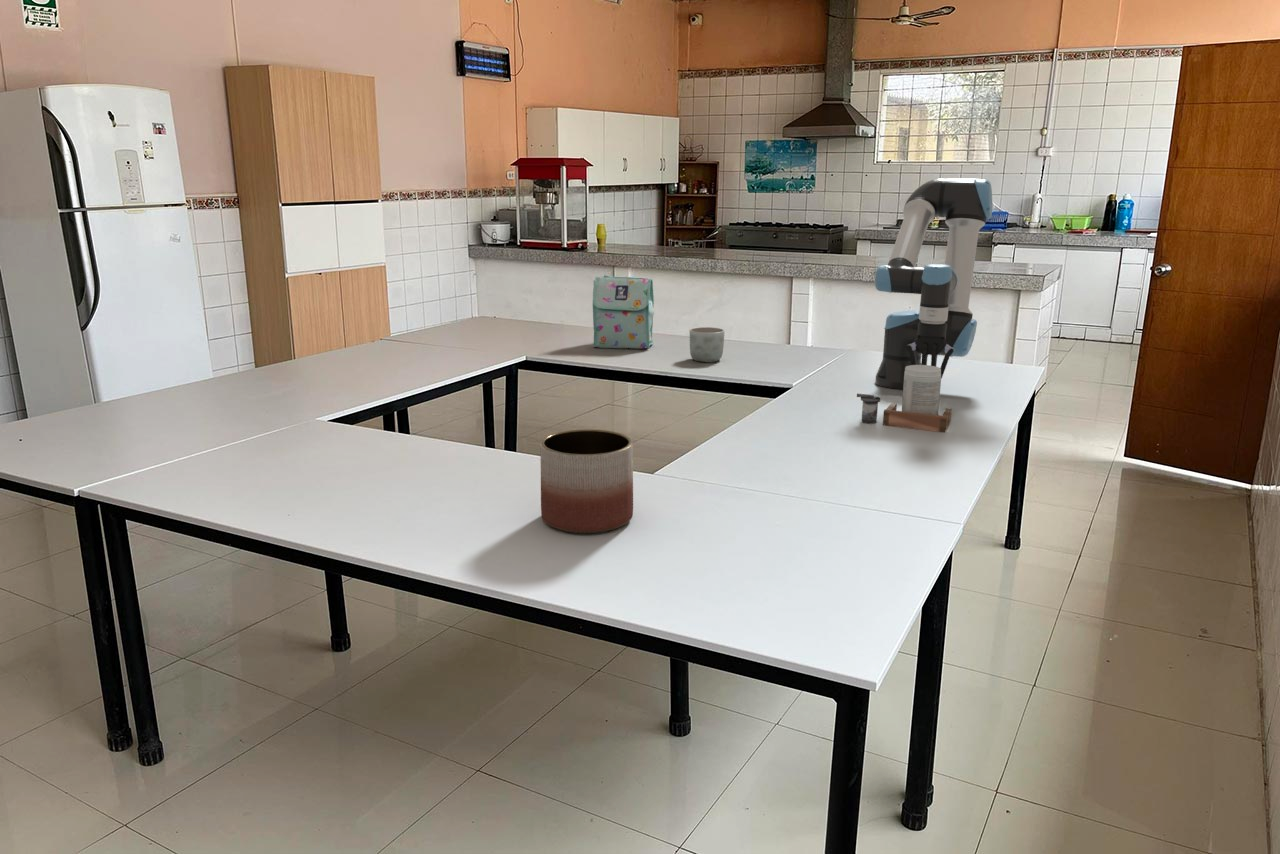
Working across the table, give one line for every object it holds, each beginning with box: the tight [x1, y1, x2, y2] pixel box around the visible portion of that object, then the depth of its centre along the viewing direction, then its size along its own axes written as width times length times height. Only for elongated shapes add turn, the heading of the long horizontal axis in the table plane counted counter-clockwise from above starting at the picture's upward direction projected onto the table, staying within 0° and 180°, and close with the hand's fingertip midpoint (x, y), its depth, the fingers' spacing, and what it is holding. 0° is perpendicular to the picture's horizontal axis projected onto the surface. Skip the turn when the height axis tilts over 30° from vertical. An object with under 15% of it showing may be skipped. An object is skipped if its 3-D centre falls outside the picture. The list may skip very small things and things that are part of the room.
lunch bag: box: [592, 274, 655, 350], centre depth 348 cm, size 23×16×27 cm
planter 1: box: [539, 428, 634, 535], centre depth 175 cm, size 18×18×16 cm
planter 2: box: [689, 326, 725, 363], centre depth 325 cm, size 12×12×11 cm
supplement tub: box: [901, 364, 942, 415], centre depth 247 cm, size 10×10×15 cm
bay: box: [882, 402, 952, 433], centre depth 246 cm, size 12×16×4 cm
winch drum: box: [856, 393, 882, 425], centre depth 247 cm, size 5×6×7 cm
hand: (925, 404), depth 259 cm, fingers closed
